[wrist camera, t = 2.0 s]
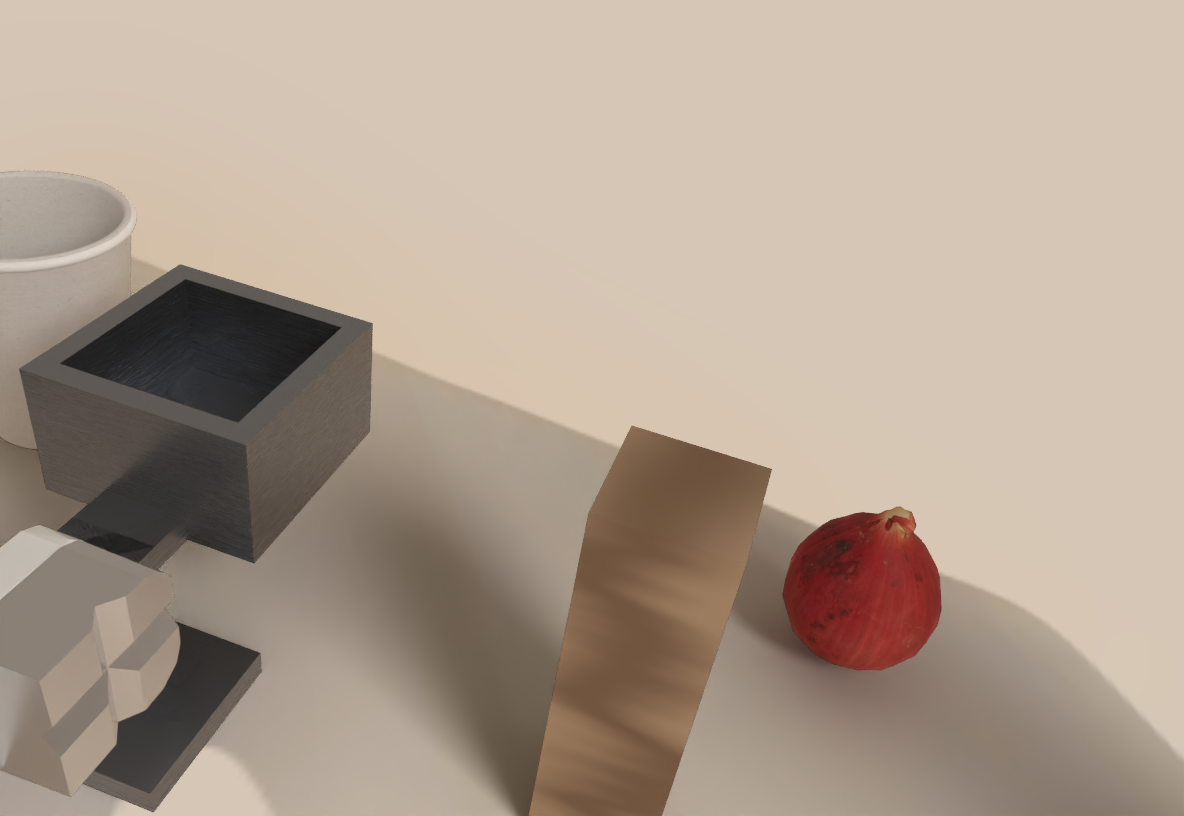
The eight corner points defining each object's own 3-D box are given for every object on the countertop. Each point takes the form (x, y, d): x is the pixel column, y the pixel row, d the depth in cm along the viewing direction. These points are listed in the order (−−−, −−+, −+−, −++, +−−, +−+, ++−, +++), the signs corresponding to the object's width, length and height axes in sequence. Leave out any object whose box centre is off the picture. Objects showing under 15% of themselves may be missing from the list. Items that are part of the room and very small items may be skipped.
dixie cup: (-6, 495, 41) (-63, 282, 35) (-70, 392, 45) (-130, 189, 39) (192, 429, 46) (171, 234, 40) (117, 343, 50) (88, 156, 45)
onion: (784, 714, 38) (847, 566, 33) (748, 600, 42) (799, 456, 38) (925, 714, 39) (1005, 570, 34) (875, 603, 43) (940, 463, 39)
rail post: (671, 771, 35) (771, 468, 27) (642, 873, 32) (746, 565, 24) (565, 733, 36) (631, 425, 28) (526, 828, 32) (588, 513, 24)
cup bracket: (367, 532, 42) (372, 323, 36) (153, 812, 31) (108, 577, 25) (201, 476, 43) (179, 264, 37) (-61, 724, 32) (-154, 480, 26)
